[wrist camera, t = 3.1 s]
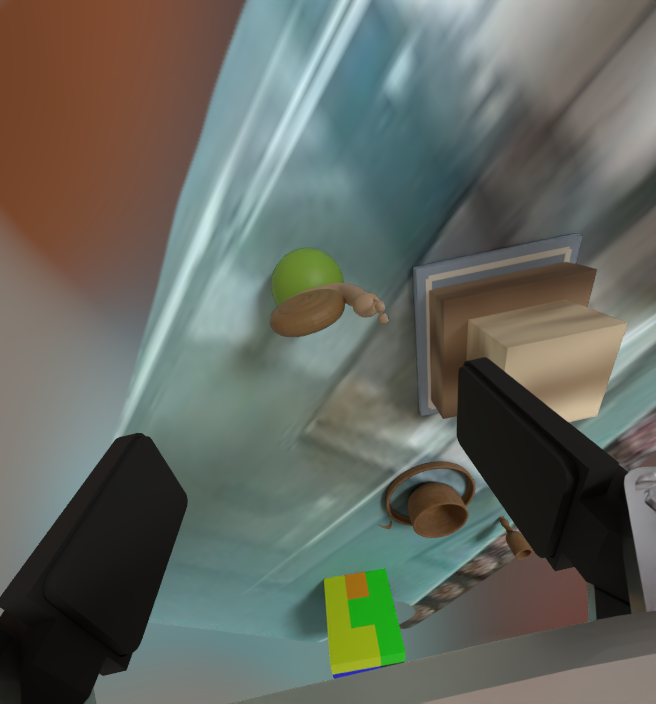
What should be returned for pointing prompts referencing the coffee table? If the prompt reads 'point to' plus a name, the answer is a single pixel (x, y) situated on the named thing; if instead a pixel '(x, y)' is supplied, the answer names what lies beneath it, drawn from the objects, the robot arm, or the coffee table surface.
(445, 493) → the place setting
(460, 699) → the robot arm
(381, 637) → the puzzle toy
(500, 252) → the blueprint board
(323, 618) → the coffee table surface
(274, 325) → the snail figurine
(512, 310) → the plinth
